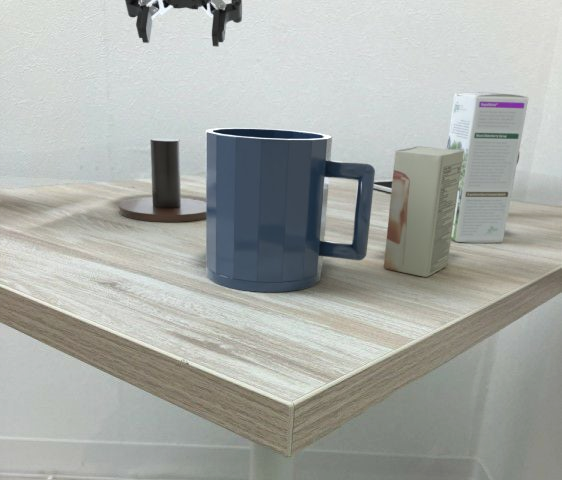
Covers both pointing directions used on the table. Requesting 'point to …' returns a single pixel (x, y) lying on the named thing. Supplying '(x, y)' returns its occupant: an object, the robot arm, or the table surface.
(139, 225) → the table surface
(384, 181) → the cell phone
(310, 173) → the blue faceted mug
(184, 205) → the lid
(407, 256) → the printed cream carton
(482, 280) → the table surface
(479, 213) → the syrup box
